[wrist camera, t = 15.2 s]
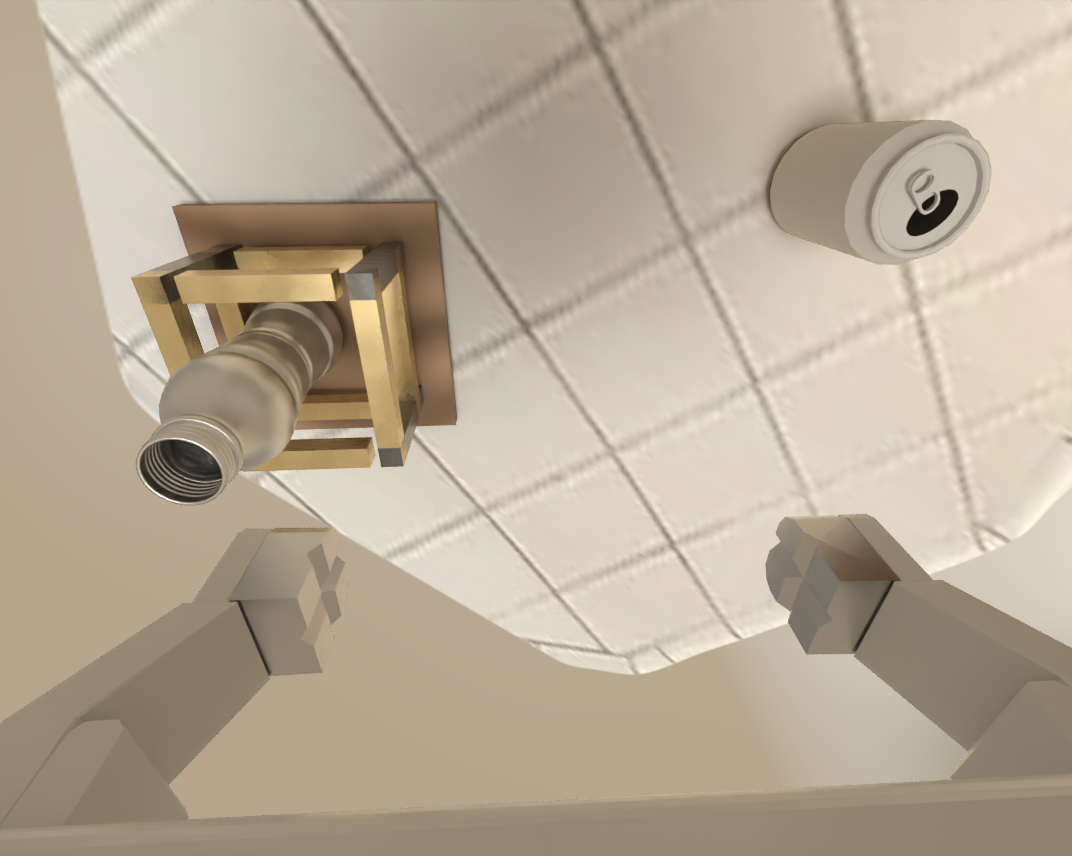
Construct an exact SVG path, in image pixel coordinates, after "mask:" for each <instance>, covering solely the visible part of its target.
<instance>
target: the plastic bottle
mask: <svg viewBox="0 0 1072 856" xmlns="http://www.w3.org/2000/svg"><path fill="white" fill-rule="evenodd" d="M342 341H343V334H342V328H341V324H340V322H339V320H338V318H337V316H336V314H335V313H334V312H333V310H332V309H331V308H330V307H329V306H328V305H327V304H326V303H325V302H323V301H301V302H261V303H260V304H259V305H258V306H257V307H256V308H255V309H254V311H253V312H252V314H251V315H250V317H249V319H248V320H247V322H246V325H245V327H244V328H243V329H242V330H241V331H240V333H239V334H238V335H237V336H236V337H234V338H233V339H232V340H230V341H228V342H227V343H225V344H224V345H223V346H220V347H218V348H216V349H214V350H211V351H209V352H207V353H205V354H202V355H200V356H197V357H196V358H194V359H192V360H191V361H189V362H187V363H186V364H184V365H183V366H181V367H179V368H178V369H177V370H176V371H175V372H174V373H173V374H172V375H171V376H170V378H169V380H168V382H167V383H166V385H165V388H164V390H163V393H162V396H161V400H160V404H159V416H160V420H161V425H160V427H158V428H157V429H156V430H155V431H154V433H153V435H152V436H151V438H150V439H149V440H148V441H147V442H146V443H145V444H144V445H143V446H142V448H141V450H140V452H139V453H138V455H137V459H136V469H137V473H138V475H139V477H140V479H141V481H142V482H143V484H144V485H145V486H146V487H147V488H148V489H149V490H150V491H151V492H153V493H154V494H155V495H157V496H159V497H160V498H162V499H164V500H167V501H169V502H172V503H176V504H181V505H200V504H204V503H207V502H209V501H211V500H213V499H215V498H216V497H217V496H218V495H219V494H220V493H222V491H223V490H224V488H225V487H226V485H227V484H228V483H229V482H230V481H231V480H232V479H234V478H235V476H236V475H237V473H238V472H239V471H243V470H249V469H252V468H255V467H258V466H260V465H262V464H264V463H266V462H268V461H269V460H271V459H272V458H274V457H275V456H277V455H278V454H279V453H280V452H281V451H282V450H283V449H284V448H285V447H286V445H287V444H288V443H289V441H290V439H291V436H292V434H293V432H294V429H295V427H296V423H297V420H298V416H299V413H300V409H301V406H302V403H303V401H304V399H305V397H306V394H307V393H308V391H309V389H310V388H311V387H312V386H313V384H314V383H315V382H316V381H317V380H319V379H320V378H322V377H323V376H324V375H325V374H326V373H327V372H329V371H330V370H331V369H332V368H333V367H334V365H335V364H336V363H337V361H338V359H339V356H340V354H341V349H342Z"/></svg>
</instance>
